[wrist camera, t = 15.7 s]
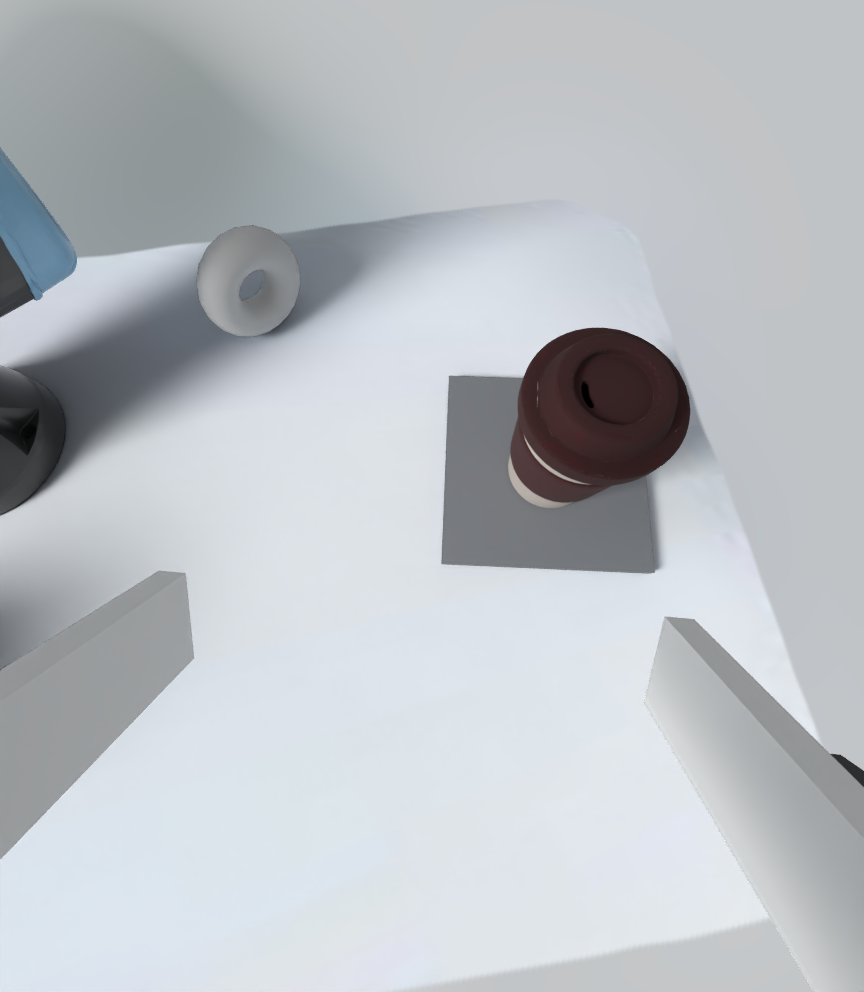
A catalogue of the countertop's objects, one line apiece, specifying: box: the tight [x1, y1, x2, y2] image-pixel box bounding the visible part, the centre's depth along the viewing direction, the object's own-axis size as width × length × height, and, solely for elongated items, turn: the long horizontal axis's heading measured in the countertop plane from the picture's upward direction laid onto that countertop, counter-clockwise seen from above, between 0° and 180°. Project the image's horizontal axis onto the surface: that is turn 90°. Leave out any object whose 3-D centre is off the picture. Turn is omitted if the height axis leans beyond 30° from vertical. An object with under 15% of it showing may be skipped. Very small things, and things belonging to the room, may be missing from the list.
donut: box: [196, 225, 300, 336], centre depth 38 cm, size 10×3×10 cm, turn 137°
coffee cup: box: [508, 328, 690, 508], centre depth 30 cm, size 10×10×15 cm
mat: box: [442, 376, 655, 573], centre depth 38 cm, size 18×18×1 cm
